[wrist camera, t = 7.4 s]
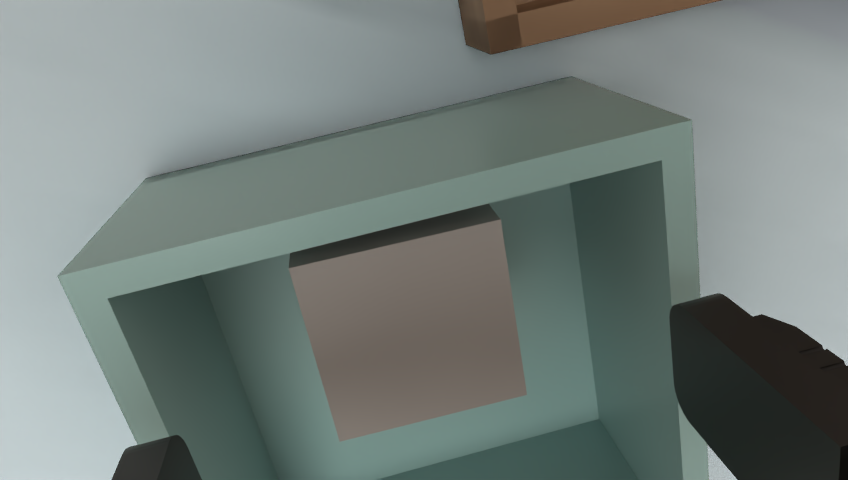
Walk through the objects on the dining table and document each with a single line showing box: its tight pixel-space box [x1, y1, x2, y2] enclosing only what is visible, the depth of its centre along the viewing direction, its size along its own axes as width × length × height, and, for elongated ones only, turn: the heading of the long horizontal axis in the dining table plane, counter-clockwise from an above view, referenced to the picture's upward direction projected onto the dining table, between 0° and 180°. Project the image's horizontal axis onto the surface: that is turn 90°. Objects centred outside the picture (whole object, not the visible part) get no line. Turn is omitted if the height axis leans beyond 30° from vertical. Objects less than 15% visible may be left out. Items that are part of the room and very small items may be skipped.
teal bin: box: [58, 77, 709, 480], centre depth 16 cm, size 11×11×6 cm
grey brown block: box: [288, 204, 527, 442], centre depth 15 cm, size 4×4×5 cm
